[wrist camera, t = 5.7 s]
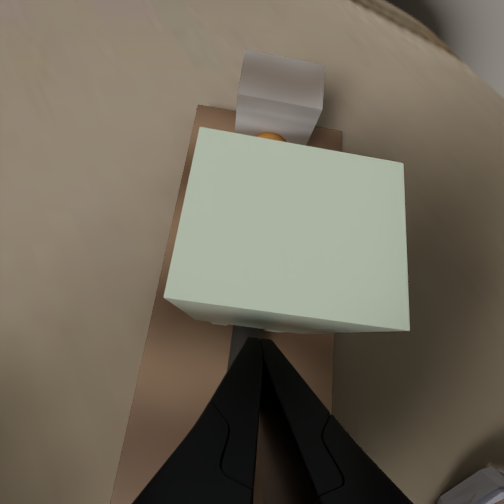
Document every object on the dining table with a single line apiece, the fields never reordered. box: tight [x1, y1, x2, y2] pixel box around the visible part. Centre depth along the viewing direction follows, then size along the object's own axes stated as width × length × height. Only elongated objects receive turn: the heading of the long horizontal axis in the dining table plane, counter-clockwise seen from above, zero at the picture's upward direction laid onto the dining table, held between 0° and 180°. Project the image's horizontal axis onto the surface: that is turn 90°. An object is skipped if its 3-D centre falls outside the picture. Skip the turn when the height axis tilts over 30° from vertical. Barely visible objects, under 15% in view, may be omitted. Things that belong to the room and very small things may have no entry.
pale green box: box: [163, 127, 410, 334], centre depth 11 cm, size 4×5×10 cm
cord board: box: [110, 49, 342, 504], centre depth 13 cm, size 28×10×6 cm, turn 173°
